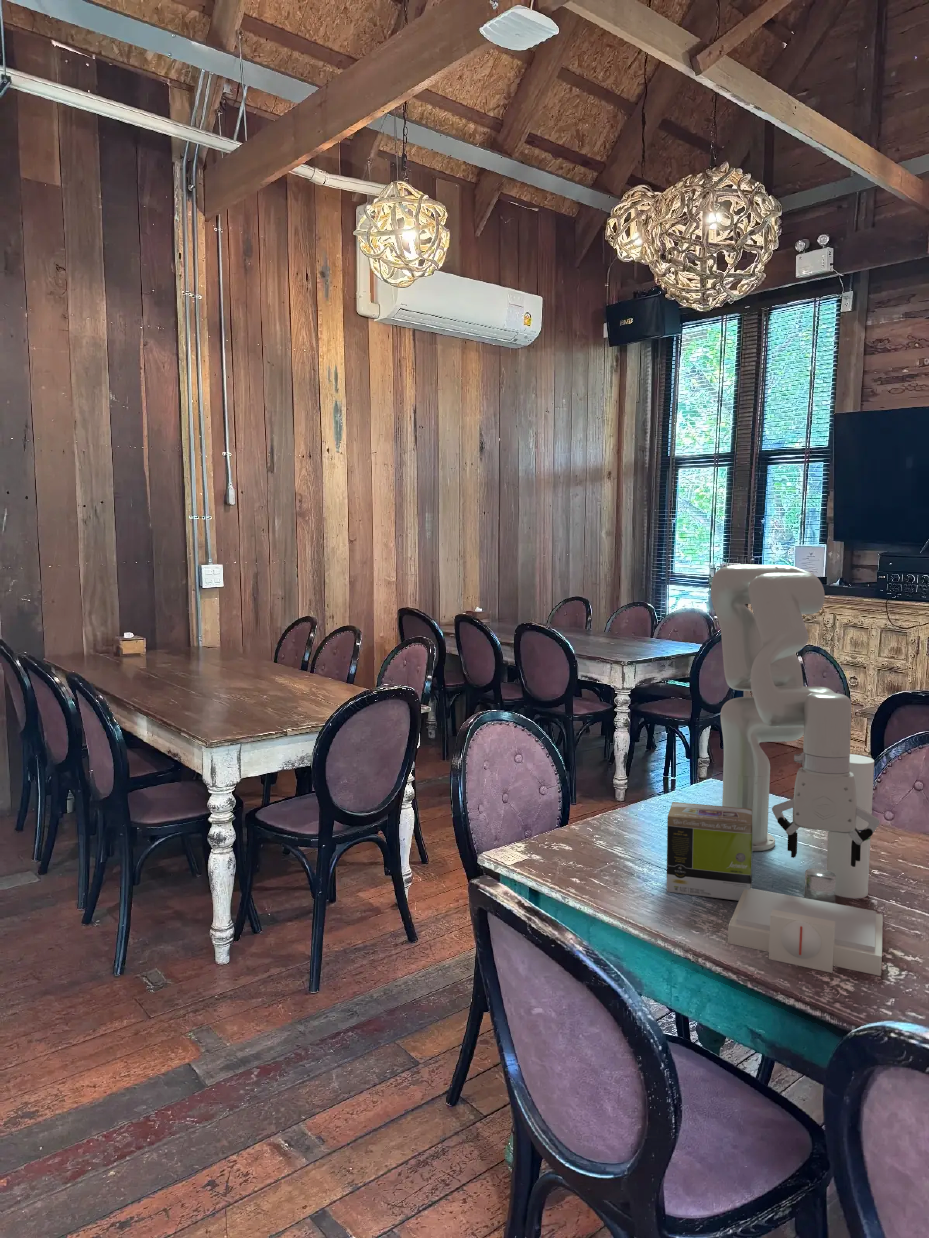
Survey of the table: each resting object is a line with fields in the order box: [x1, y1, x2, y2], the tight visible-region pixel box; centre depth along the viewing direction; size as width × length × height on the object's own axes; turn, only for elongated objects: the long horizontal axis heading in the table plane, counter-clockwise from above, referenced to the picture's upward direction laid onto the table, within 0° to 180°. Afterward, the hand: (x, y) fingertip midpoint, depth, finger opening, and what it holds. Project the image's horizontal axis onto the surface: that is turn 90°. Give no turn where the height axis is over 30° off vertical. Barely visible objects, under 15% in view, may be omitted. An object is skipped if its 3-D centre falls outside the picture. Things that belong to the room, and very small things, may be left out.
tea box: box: [666, 801, 753, 902], centre depth 154 cm, size 15×10×15 cm
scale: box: [727, 887, 884, 977], centre depth 134 cm, size 22×19×7 cm
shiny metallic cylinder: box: [803, 867, 836, 904], centre depth 147 cm, size 5×5×6 cm
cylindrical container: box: [825, 753, 875, 899], centre depth 153 cm, size 7×7×25 cm
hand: (823, 859), depth 146 cm, fingers open, 9 cm apart
